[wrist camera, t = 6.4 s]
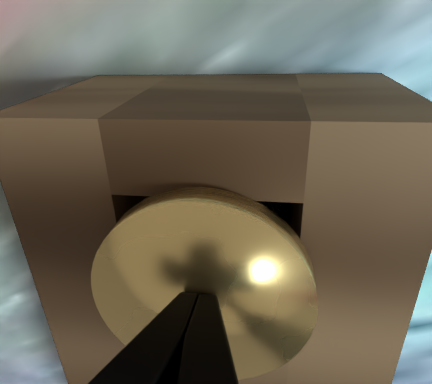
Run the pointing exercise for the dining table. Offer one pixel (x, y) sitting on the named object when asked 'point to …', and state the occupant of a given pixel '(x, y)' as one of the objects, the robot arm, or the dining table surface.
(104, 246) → the peg
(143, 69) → the dining table surface
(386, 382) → the block
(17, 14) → the dining table surface
